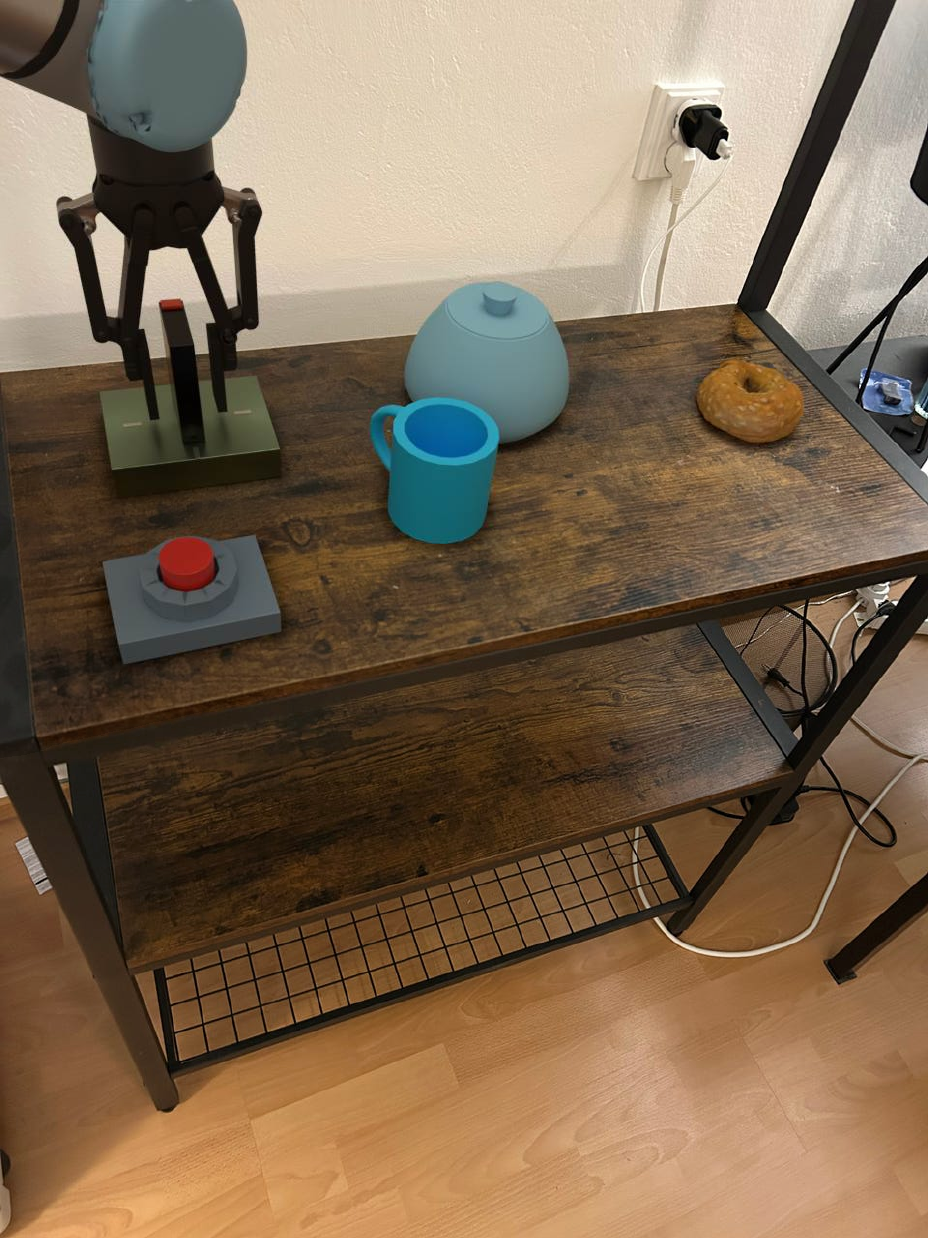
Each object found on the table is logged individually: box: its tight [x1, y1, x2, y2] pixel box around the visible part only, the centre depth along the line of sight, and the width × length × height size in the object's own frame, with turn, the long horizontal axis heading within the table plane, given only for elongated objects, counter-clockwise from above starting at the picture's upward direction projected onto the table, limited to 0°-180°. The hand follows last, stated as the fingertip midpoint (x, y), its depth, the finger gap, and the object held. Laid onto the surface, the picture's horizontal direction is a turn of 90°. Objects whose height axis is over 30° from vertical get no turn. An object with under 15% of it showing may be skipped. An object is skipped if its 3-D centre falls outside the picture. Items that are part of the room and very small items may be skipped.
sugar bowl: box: [403, 280, 570, 445], centre depth 86 cm, size 15×15×12 cm
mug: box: [369, 397, 499, 545], centre depth 78 cm, size 12×8×8 cm
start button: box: [159, 536, 215, 592], centre depth 67 cm, size 4×4×2 cm
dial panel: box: [98, 375, 282, 499], centre depth 80 cm, size 13×10×3 cm
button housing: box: [101, 534, 283, 665], centre depth 69 cm, size 11×8×4 cm
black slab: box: [158, 298, 205, 443], centre depth 76 cm, size 6×2×9 cm, turn 19°
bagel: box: [696, 358, 805, 444], centre depth 92 cm, size 10×11×5 cm
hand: (186, 405), depth 78 cm, fingers open, 5 cm apart
